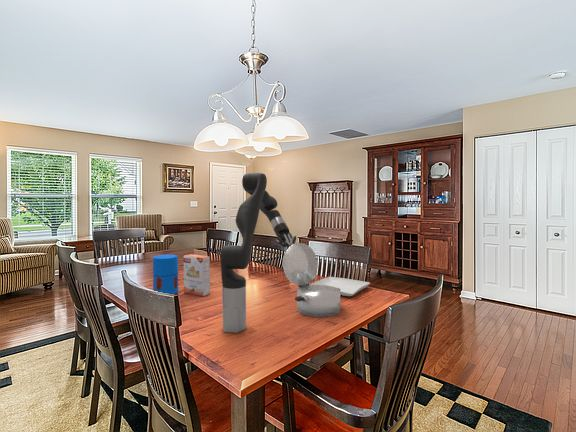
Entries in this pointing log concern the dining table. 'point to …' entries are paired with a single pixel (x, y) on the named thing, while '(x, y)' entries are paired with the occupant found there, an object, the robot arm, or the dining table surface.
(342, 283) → the square plate
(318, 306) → the pot
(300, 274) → the lid
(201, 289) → the cracker box
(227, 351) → the dining table surface
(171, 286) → the thermos
